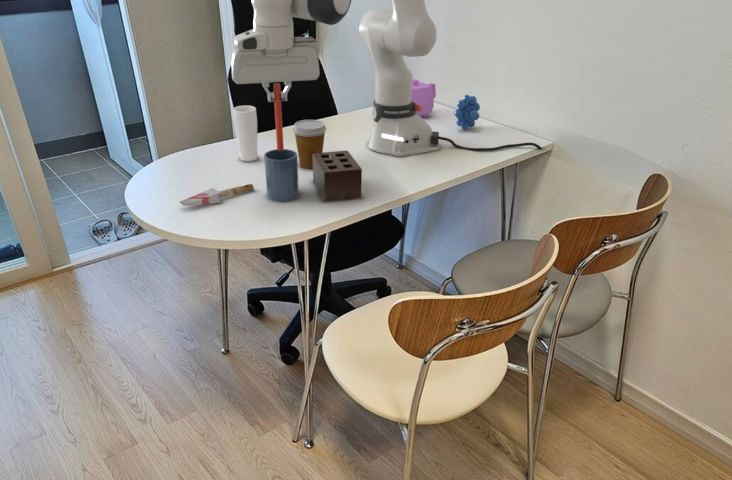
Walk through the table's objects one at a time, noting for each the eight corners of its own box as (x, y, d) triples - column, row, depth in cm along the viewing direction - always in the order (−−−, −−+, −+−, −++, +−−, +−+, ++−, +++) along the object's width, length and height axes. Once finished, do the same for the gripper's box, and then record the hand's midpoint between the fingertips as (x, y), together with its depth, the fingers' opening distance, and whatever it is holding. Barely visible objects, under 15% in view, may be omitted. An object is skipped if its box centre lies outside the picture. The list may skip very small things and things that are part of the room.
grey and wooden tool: (177, 195, 137) (248, 179, 148) (178, 206, 139) (248, 189, 149) (183, 200, 135) (255, 184, 146) (185, 211, 136) (256, 194, 147)
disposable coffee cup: (331, 161, 166) (330, 121, 160) (320, 172, 159) (319, 131, 152) (301, 157, 168) (300, 117, 162) (289, 168, 161) (287, 127, 154)
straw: (282, 148, 140) (279, 82, 131) (284, 150, 138) (280, 84, 130) (276, 149, 139) (272, 83, 131) (277, 151, 138) (273, 84, 129)
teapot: (422, 107, 214) (425, 73, 207) (443, 115, 205) (447, 80, 198) (379, 115, 205) (381, 79, 198) (399, 124, 196) (402, 87, 189)
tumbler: (295, 187, 150) (293, 147, 144) (301, 199, 143) (299, 158, 137) (265, 190, 148) (262, 150, 142) (269, 203, 141) (266, 161, 135)
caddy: (347, 177, 156) (347, 150, 151) (361, 198, 145) (362, 169, 140) (313, 181, 153) (312, 153, 149) (324, 202, 142) (324, 172, 138)
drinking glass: (255, 163, 164) (251, 112, 155) (234, 162, 165) (228, 111, 156) (263, 155, 169) (259, 106, 161) (242, 154, 170) (237, 104, 162)
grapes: (462, 136, 186) (467, 100, 179) (448, 131, 191) (452, 95, 184) (486, 129, 192) (491, 94, 185) (471, 124, 196) (476, 90, 190)
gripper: (316, 34, 129) (317, 94, 137) (227, 37, 125) (233, 99, 132) (322, 39, 124) (323, 101, 132) (230, 42, 120) (236, 107, 127)
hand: (277, 100), depth 132 cm, fingers closed on straw, 1 cm apart
